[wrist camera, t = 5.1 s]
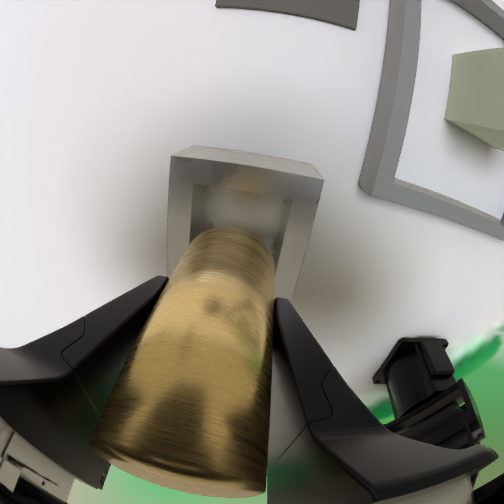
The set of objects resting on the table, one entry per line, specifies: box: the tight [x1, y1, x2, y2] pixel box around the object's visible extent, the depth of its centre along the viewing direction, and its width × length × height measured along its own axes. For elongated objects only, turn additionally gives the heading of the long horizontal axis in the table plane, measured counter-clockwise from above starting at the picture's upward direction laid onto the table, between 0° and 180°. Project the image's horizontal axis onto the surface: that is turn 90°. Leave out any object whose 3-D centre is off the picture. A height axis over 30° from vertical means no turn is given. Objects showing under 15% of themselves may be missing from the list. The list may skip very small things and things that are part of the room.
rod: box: [89, 227, 275, 498], centre depth 7 cm, size 4×4×8 cm
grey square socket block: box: [167, 146, 324, 303], centre depth 15 cm, size 7×7×4 cm
